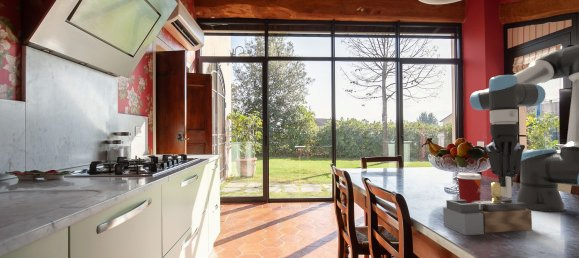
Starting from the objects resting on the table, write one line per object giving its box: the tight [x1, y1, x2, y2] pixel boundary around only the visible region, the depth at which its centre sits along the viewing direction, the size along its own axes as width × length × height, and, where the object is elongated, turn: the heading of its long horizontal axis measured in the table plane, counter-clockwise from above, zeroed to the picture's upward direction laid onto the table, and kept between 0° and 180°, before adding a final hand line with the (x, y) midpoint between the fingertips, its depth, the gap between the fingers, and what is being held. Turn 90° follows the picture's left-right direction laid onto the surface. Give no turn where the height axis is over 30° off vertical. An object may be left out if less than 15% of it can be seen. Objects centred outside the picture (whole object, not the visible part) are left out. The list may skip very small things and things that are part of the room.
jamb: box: [442, 199, 485, 236], centre depth 94 cm, size 6×10×9 cm, turn 8°
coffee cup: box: [456, 172, 483, 203], centre depth 112 cm, size 8×8×15 cm
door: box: [473, 198, 533, 234], centre depth 96 cm, size 16×8×8 cm, turn 98°
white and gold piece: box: [472, 181, 504, 210], centre depth 96 cm, size 9×3×8 cm, turn 98°
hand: (506, 196), depth 97 cm, fingers closed
